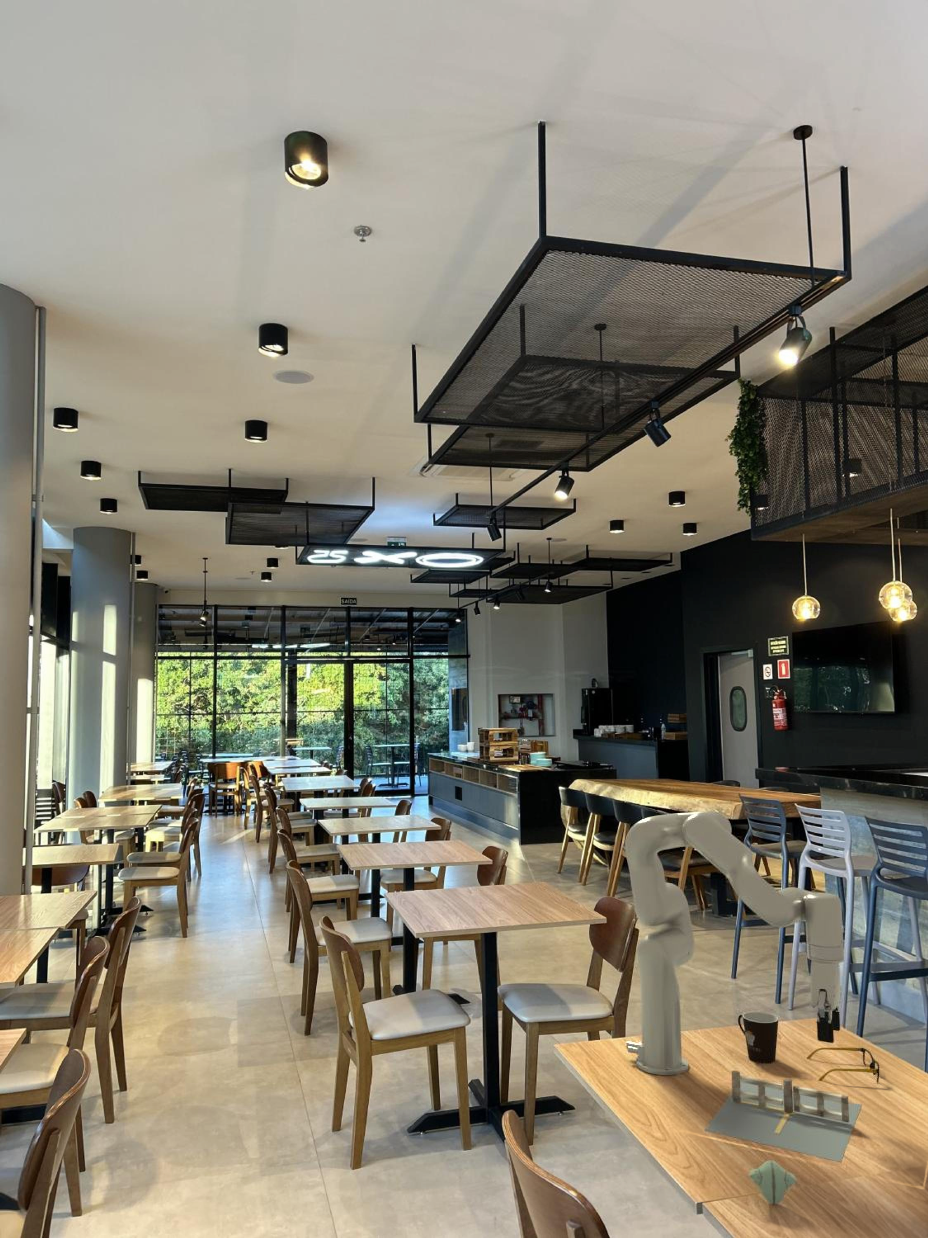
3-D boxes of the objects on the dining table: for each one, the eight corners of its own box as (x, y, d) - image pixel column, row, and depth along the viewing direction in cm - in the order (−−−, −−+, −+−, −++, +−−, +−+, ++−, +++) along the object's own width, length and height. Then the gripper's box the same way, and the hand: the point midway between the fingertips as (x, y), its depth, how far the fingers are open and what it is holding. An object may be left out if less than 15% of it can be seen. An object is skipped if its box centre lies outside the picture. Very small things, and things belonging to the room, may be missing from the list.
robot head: (750, 1207, 154) (749, 1165, 155) (748, 1195, 158) (746, 1154, 159) (799, 1212, 152) (797, 1170, 153) (795, 1200, 156) (793, 1159, 157)
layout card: (704, 1132, 182) (704, 1129, 182) (741, 1082, 208) (741, 1080, 208) (840, 1164, 169) (840, 1161, 169) (861, 1107, 194) (861, 1104, 194)
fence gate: (793, 1111, 190) (792, 1087, 190) (794, 1109, 191) (794, 1085, 191) (848, 1123, 184) (847, 1098, 185) (849, 1120, 185) (848, 1096, 186)
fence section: (731, 1101, 196) (730, 1071, 197) (733, 1098, 198) (732, 1068, 198) (792, 1114, 190) (790, 1082, 190) (793, 1111, 191) (792, 1080, 192)
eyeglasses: (884, 1087, 206) (883, 1069, 207) (818, 1082, 209) (817, 1064, 209) (867, 1064, 220) (866, 1047, 221) (806, 1060, 223) (805, 1043, 223)
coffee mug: (785, 1065, 218) (783, 1023, 219) (749, 1065, 218) (748, 1022, 219) (769, 1048, 230) (767, 1008, 231) (736, 1048, 230) (734, 1008, 231)
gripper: (814, 941, 204) (817, 1021, 202) (799, 958, 190) (803, 1044, 187) (849, 946, 201) (853, 1027, 198) (837, 963, 186) (841, 1051, 184)
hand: (829, 1035), depth 193 cm, fingers open, 8 cm apart
